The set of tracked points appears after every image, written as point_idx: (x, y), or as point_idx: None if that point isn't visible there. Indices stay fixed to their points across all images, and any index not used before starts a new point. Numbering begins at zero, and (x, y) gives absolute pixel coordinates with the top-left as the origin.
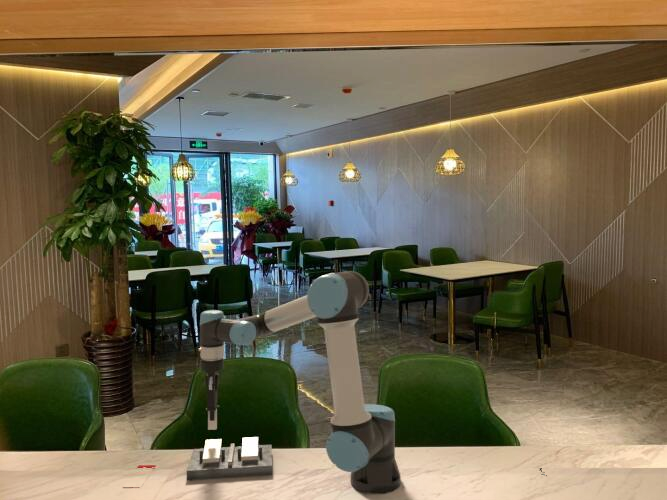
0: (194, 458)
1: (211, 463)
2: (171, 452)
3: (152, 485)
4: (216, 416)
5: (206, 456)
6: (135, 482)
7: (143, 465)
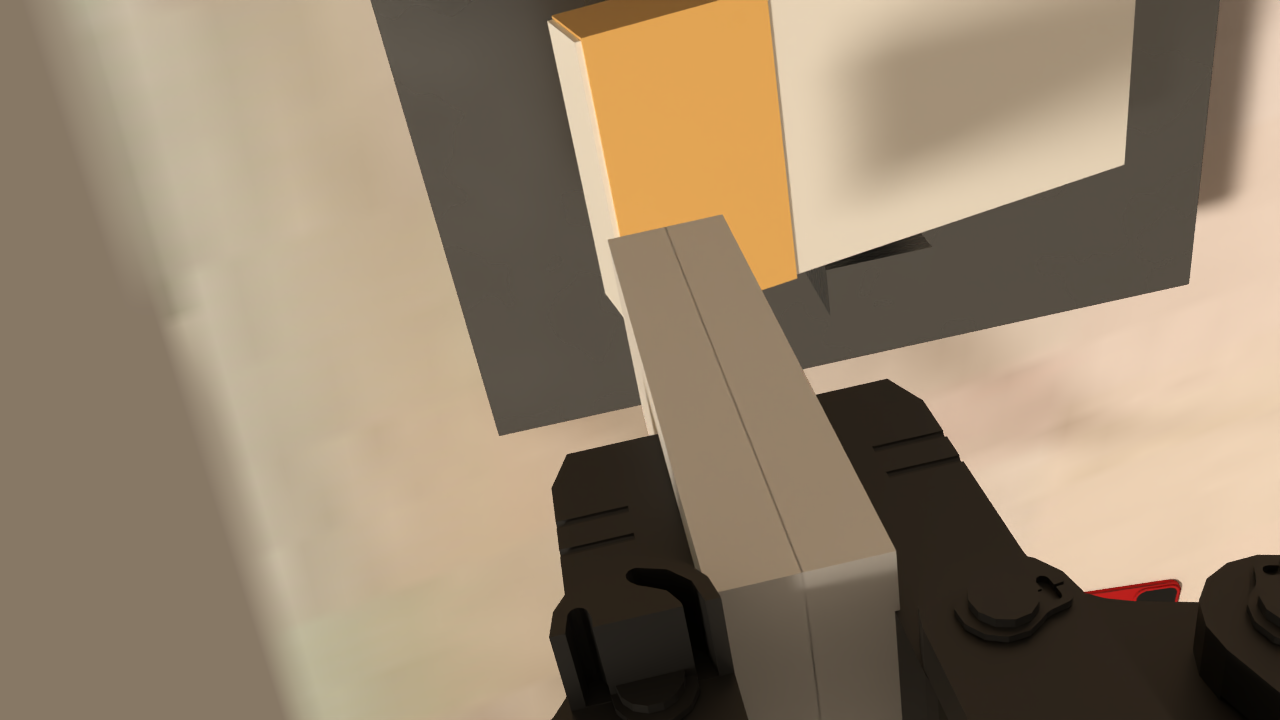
0: (816, 317)
1: None
2: (369, 646)
3: (1156, 509)
4: (810, 399)
5: (1077, 126)
6: None
7: None
